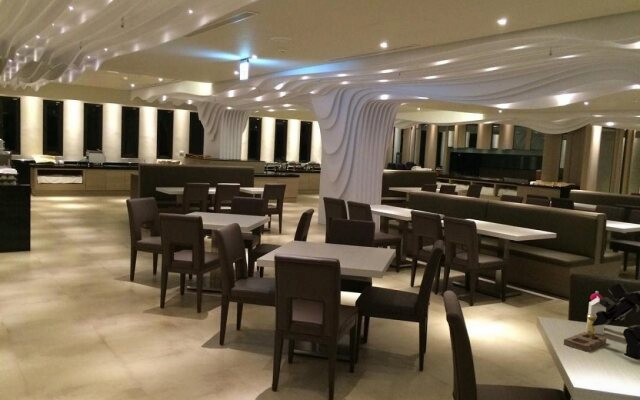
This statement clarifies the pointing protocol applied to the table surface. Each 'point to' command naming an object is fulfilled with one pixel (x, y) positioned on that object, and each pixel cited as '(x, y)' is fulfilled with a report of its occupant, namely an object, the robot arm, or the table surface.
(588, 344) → the template plate
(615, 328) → the table surface
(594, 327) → the brass bolt
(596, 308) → the milk carton
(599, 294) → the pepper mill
